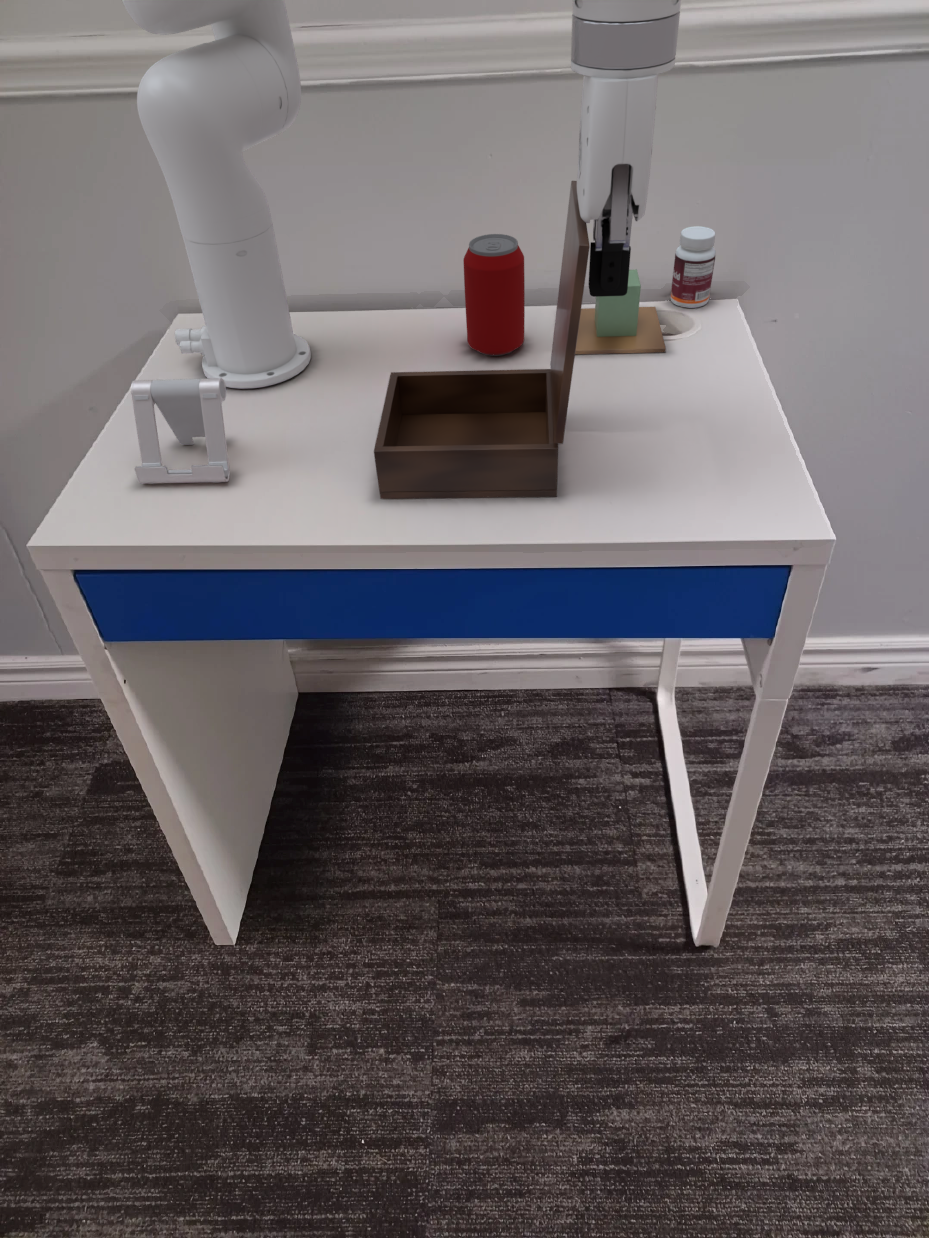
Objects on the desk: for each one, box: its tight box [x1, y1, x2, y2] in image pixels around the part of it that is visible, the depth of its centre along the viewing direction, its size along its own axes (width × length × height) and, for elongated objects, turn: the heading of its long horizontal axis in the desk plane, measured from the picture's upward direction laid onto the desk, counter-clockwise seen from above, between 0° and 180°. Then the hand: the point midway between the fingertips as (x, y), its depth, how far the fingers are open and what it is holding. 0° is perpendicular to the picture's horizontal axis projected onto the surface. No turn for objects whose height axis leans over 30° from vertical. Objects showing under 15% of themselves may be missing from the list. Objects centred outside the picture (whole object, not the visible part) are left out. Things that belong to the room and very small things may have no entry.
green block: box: [594, 268, 642, 337], centre depth 104 cm, size 5×5×6 cm
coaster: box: [575, 306, 667, 355], centre depth 106 cm, size 11×11×1 cm
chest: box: [373, 368, 559, 500], centre depth 87 cm, size 17×15×5 cm
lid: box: [549, 180, 590, 445], centre depth 78 cm, size 17×15×1 cm
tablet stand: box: [130, 377, 231, 485], centre depth 87 cm, size 9×8×8 cm
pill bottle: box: [670, 225, 717, 309], centre depth 108 cm, size 5×5×8 cm
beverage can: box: [463, 233, 526, 357], centre depth 101 cm, size 7×7×12 cm
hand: (607, 292), depth 76 cm, fingers closed
